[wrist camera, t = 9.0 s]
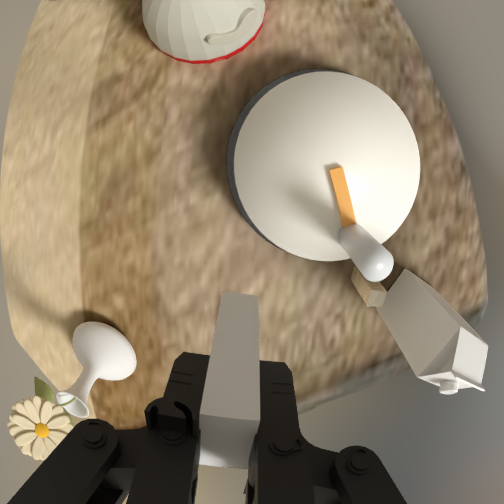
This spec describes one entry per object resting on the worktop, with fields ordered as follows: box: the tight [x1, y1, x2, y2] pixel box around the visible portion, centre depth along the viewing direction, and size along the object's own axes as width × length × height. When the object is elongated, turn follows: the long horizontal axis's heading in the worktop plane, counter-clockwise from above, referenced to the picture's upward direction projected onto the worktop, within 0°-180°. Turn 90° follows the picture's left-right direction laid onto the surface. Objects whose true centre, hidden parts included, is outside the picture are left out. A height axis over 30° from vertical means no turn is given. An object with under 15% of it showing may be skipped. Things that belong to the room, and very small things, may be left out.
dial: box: [234, 71, 420, 282], centre depth 27 cm, size 20×20×11 cm
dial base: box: [227, 69, 387, 307], centre depth 32 cm, size 25×22×7 cm
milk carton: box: [376, 268, 488, 394], centre depth 32 cm, size 7×7×19 cm
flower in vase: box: [7, 322, 137, 460], centre depth 32 cm, size 13×11×25 cm
